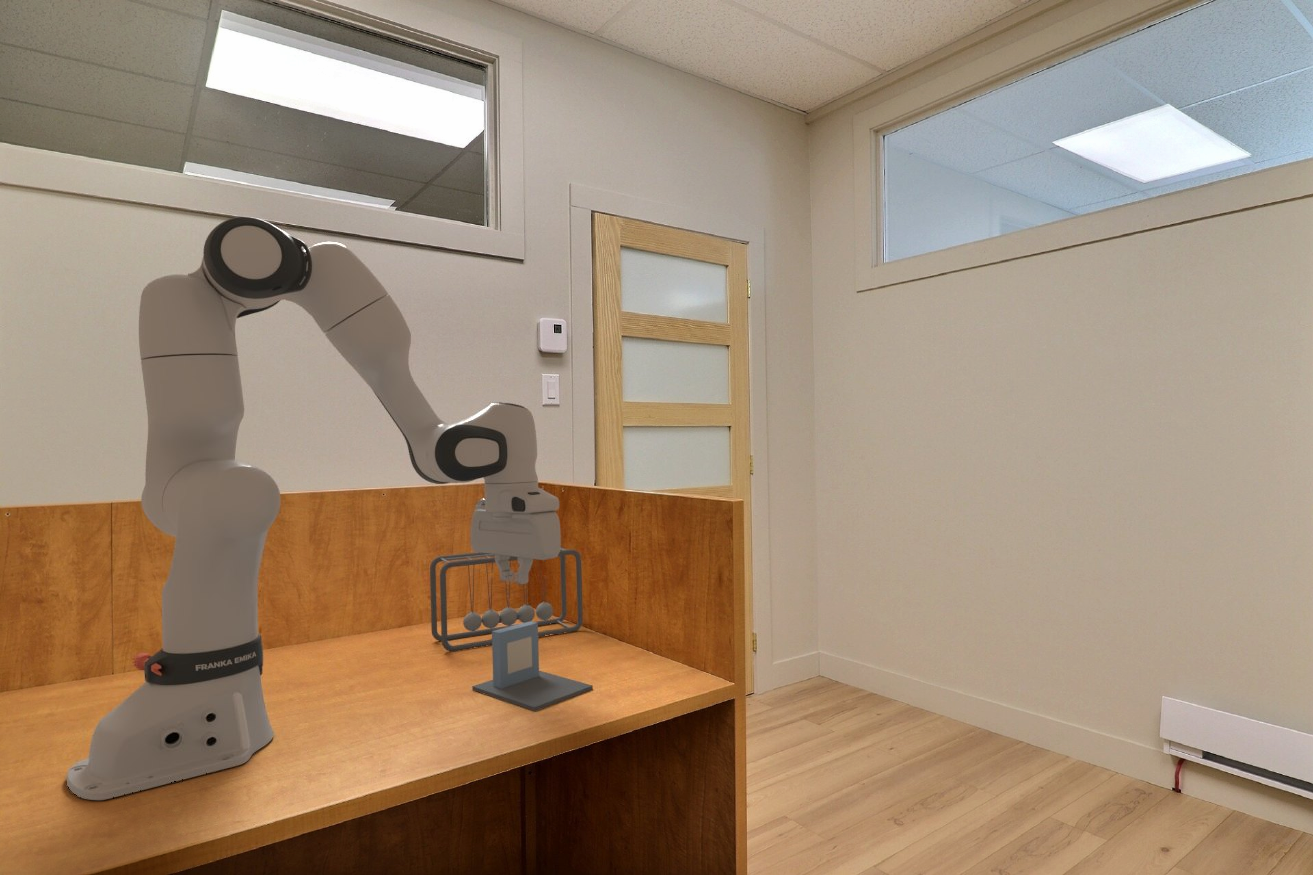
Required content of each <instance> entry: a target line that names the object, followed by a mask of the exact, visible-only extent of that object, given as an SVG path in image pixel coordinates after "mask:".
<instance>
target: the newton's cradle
mask: <svg viewBox="0 0 1313 875" xmlns="http://www.w3.org/2000/svg"><path fill="white" fill-rule="evenodd" d="M569 555H572V556H574V557H575V567H576V568H575V570H576V572H575V574H576V575H575V576H576V603H577V604H576V606H577V608H576V609H577V622H576V624H575V625H574V626H569V625H567V624H566V623H564V622H563V621H564V620H565V618H566V617H567V582H566V580H567V579H566V578H567V577H566V576H567V574H566V572H567V570H566V556H569ZM557 557H559V562H560V564H559V566H560V593H561V596H560V598H561V600H560V601H561V614H560V615H559V617H557V618H556V617H555V618H551V617H552V616H553V615H554V608H553V606H552V605H551V603H548V602H546V579H544V586H543V582H542V574H541V568H540V567H541V566H540V565H538V569H539V577H540V578H539V579H540V586H541V588H540V589H544V591H543V590H541V595H542V602H541V603H539V604H538V605H537V607H536V608H535V609H534V608H533V607H532V606H531V605H529V604H528V603H527V602H528V586H526V591H525V584H522V588H523V591H525V592H526V594H525V592H523V599H524V600H523V601H524V604H523V605H522V606H520V607H518V610H516V609H515V608H513V607H510V605H509V599H510V595H511V594H510V592H511V591H510V590H511V581H509V582H508V583H509V584H508V586H505V592H506V593H505V594H506V597H508V598H506V603H507V604H506V607H505V608H503V609H501V611H500V613H498V612H497V611H496V610H494V609H492V608H491V607H492V603H493V602H492V599H493V596H492V594H493V578H491V579H490V580H491V583H490V584H491V587H490V586H489V584H487V592H488V596H490V597H488V604H489V605H488V607H489V609H488V610H486V611H485V612H484V613H483V614H482V615H480V613H477V612H474V606H473V601H470V609H471V610H470V612H469V613H468V614H466V615H465V616H464V617H463V622H462V624H463V625H462V626H463V627H464V628H465V629H466V630H467V631H465V632H464V631H463V632H458V633H451V634H448V614H447V613H448V609H447V608H448V606H447V605H448V604H447V603H448V602H447V571H448V570H449V569H450V568H456V567H466V566H467V568H468V572H470V566H475V565H485V568H486V570H488V564H491V572H493V570H494V568H493V567H494V566H493V565H494V563H495V564H496V562H495V554H491V553H482V552H468V553H467V552H466V553H457V554H447V555H439V556H437V557H435V558H433V560H432V561H431V562H430V566H429V579H430V580H429V581H430V584H429V585H430V621H431V622H430V624H431V625H430V626H431V635H432V637H433V638H434V639H435V640H436V641H439V642H441V645H442V647H443V649H445V650H446V651H448V652H458V650H460V651H464V650H463V649H466V650H471V649H470V648H472V649H475V648H474V647H478V648H482V647H481V646H484V647H487V646H486V645H490V646H492V639H487V640H480V641H474V642H469V643H461V644H455V645H452V643H450V642H449V641H451V640H452V639H453V640H459V639H464V637H466V638H470V637H469V636H472V637H477V636H476V635H479V636H482V635H481V634H485V635H490V634H489V633H491V634H492V631H495V630H499V629H503V628H506V627H510V626H514V625H518V624H519V623H517V624H515V623H516V622H517V620H519V621H520V622H521V623H526V622H530V621H531V622H533V619H534V618H535V616H536V617H537V618H538V619H539V620H538V621H537V620H536V621H535V622H536V623H538V627H541V626H540V625H543V626H546V625H545V624H550V623H556V624H560V625H562V626H564V627H561V628H556V629H550V630H544V631H538V636H545V635H550V634H558V633H564V632H570V633H573V632H572V631H575V632H577V631H579V630H580V629H581V628H582V626H583V622H584V612H583V611H584V610H583V584H582V583H583V576H582V575H583V574H582V573H583V572H582V557H581V554H580V552H579V551H578V550H576V549H572V548H571V549H566V548H563V547H562V546H561V549H560V552H559V554H558V556H557ZM512 561H513V562H514V561H518V557H515V556H510V559H508V562H509V565H510V569H511V566H512V565H511V562H512ZM537 561H538V562H537V563H538V564H540V560H539V559H537ZM441 562H445V563H444V565H442V567H441V569H440V572H439V590H440V591H439V592H440V594H439V595H440V596H439V597H440V627H441V628H440V629H441V630H440V632H441V634H439V632H438V614H437V613H438V609H437V608H438V606H437V576H436V575H437V573H436V569H437V565H438V564H439V563H441ZM472 571H473V573H472V576H473V577H472V591H471V587H469V596H470V600H472V599H474V589H475V588H474V587H475V567H473V570H472ZM486 579H487V583H489V572H488V571H486ZM468 584H469V586H471V577H470V573H468ZM504 584H505V585H507V582H505V581H504ZM489 587H490V588H489ZM543 587H544V588H543ZM500 622H501V624H503V625H504V626H503V625H502V626H499V627H498V625H499V623H500ZM482 625H483V626H484V627H485V629H480V627H481V626H482ZM550 625H551V624H550ZM576 630H577V631H576ZM564 634H565V633H564ZM558 635H559V634H558ZM545 637H546V636H545Z"/></svg>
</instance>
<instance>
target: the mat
mask: <svg viewBox="0 0 1313 875" xmlns="http://www.w3.org/2000/svg"><path fill="white" fill-rule="evenodd" d="M471 688H472V691H474V690H475V692H477V691H479V692H478V693H479V694H483V693H485V694H484V695H486V694H487V696H489V695H490V696H489V697H492V698H494V697H496V698H495V699H497V698H498V700H500V699H501V701H503V702H506V701H507V703H508V704H509V703H510V704H513V705H516V706H518V707H520V708H521V707H522V708H524V709H526V710H529V711H533V712H536V711H539V710H541V709H544V708H547V707H549V706H552V705H554V704H558V703H560V702H563V701H565V700H568V699H571V698H573V697H576V696H579V695H581V694H584V693H586V692H589V691H592V690H593V688H594V686H593V685H591V684H588V683H586V682H581V681H577V680H574V679H572V678H568V677H564V676H561V675H560V676H559V675H556V674H553V673H551V672H550V673H549V672H546V671H543V670H539V676H537V677H534V678H531V679H528V680H525V681H522V682H519V683H516V684H513V685H510V686H507V687H504V688H501V689H500V688H497V687H494V686H493V679H491V680H487V681H485V682H481V683H479V684H475V685H472V687H471Z"/></svg>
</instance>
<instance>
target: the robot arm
mask: <svg viewBox="0 0 1313 875" xmlns="http://www.w3.org/2000/svg"><path fill="white" fill-rule="evenodd" d="M302 247H303V248H302ZM202 253H203V255H202V256H203V257H202V260H201V264H200V266H199V267H198V268H197V269H196V270H195V271H193V272H190V273H187V274H170V275H164V276H161V277H159V278H158V277H157V278H156V279H154V280H151V281H150V282H149V283H147V285H146V286H145V287H144V288H143V290H142V292H141V295H140V302H139V310H138V312H139V313H138V341H139V342H138V345H139V346H138V347H139V356H140V364H141V365H140V366H141V371H142V379H143V380H142V381H143V388H144V398H145V405H146V410H147V411H146V413H147V441H146V442H147V444H146V451H145V452H146V454H145V474H144V476H145V484H144V488H143V490H142V494H141V497H140V498H141V500H140V502H141V507H142V508H141V509H142V511H143V513H144V515H145V517H146V518H147V519H148V521H150V523H151V524H152V525H153V526H155V527H156V528H157V529H158V530H159V531H161V532H162V533H164V534H166V535H168V536H171V537H174V538H175V541H174V542H175V543H174V548H173V554H172V558H171V559H172V560H171V564H170V569H169V573H168V576H167V579H166V581H165V582H164V584H163V587H162V590H161V624H162V625H161V633H162V637H161V638H162V647H161V649H160V650H158V651H157V652H156V653H154V654H153V655H151V654H149V653H147V652H140V653H138V654H136V655H135V657H133V659H132V664H133V666H134V667H135V669H138V670H140V671H144V674H143V675H144V681H145V682H144V683H142V685H140V686H139V687H138V688H137V689H136V690H135V691H133V692H132V693H130V695H129V696H127V697H126V698H125V699H124V700H122V702H120V703H119V704H117V705H116V706H115V707H114V708H113V709H111V710H110V711H109V712H108V713H107V714H105V715H104V716H103V717H102V718H101V719H100V720H99V721H98V723H97V725H96V727H95V728H94V731H93V734H92V737H91V741H90V745H89V751H88V757H87V758H83V759H82V760H78V761H77V762H75V763H74V764H72V766H70V767H69V769H68V770H67V772H66V779H65V782H66V781H67V785H66V787H67V786H68V787H69V789H70V790H71V791H72V792H73V793H74V794H76V795H77V796H76V795H75V796H76V797H79V798H80V797H81V799H85V800H91V801H104V800H110V799H113V797H114V798H117V797H121V796H125V795H129V794H133V793H137V792H140V790H141V791H144V790H149V789H152V788H156V787H160V786H163V785H168V784H171V782H172V783H175V782H174V781H176V782H179V781H182V779H183V780H187V779H191V778H195V777H199V776H203V775H206V773H207V774H209V773H211V774H212V773H214V772H218V771H222V770H225V769H229V768H233V767H238V766H240V765H243V764H245V763H246V762H248V761H249V760H250V758H251V757H252V755H253V754H254V753H255V752H257V751H258V750H260V749H261V748H263V747H265V746H266V745H268V744H269V743H270V741H272V739H273V738H274V737H275V734H274V730H273V728H272V725H271V723H270V718H269V716H268V712H267V708H266V703H265V699H264V693H263V692H264V691H263V685H262V675H263V667H264V647H263V646H264V645H263V643H262V642H263V641H262V636H261V635H260V634H259V612H258V611H259V608H258V607H259V605H258V604H259V603H258V602H259V601H258V597H259V595H258V594H259V593H258V592H259V591H258V590H259V589H258V586H259V576H260V575H259V574H260V569H261V564H262V559H263V554H264V549H265V545H266V541H267V536H268V532H269V529H270V527H271V526H272V524H273V523H274V522H275V520H276V519H277V517H278V515H279V512H280V509H281V502H282V499H281V492H280V489H279V486H278V484H277V483H276V481H275V480H274V478H272V476H271V475H270V474H269V473H267V472H266V471H265V470H262V469H261V468H259V467H257V466H255V465H253V464H250V463H248V462H246V461H242V460H237V459H236V449H237V440H238V434H239V430H240V429H239V428H240V425H241V423H242V420H243V418H244V415H245V404H244V403H245V402H244V395H243V394H244V393H243V386H242V379H241V369H240V363H239V355H238V347H237V340H236V322H237V319H239V318H242V317H246V316H248V315H249V316H250V315H253V314H257V313H261V312H263V311H266V310H269V309H271V308H273V307H274V306H276V305H277V304H279V303H280V302H281V301H284V300H285V301H288V302H292V303H294V304H296V305H298V306H299V307H301V308H302V309H303V310H305V311H306V313H308V314H309V315H310V316H311V317H312V319H313V320H314V322H315V324H317V326H318V327H319V329H320V330H321V331H322V333H323V334H324V335H325V337H326V338H327V339H328V341H329V342H330V344H332V346H333V347H334V348H335V349H336V350H337V352H338V353H339V354H340V355H341V356H342V357H343V359H345V361H346V362H347V363H348V364H349V365H350V366H351V367H352V369H353V370H354V371H355V372H356V373H357V374H358V376H360V377H361V378H362V379H363V380H364V382H365V383H366V384H367V385H368V386H369V388H370V389H371V390H372V392H373V393H374V394H375V396H376V397H377V399H378V400H379V402H380V403H381V405H382V407H384V409H385V410H386V412H387V413H388V415H389V416H390V418H391V419H392V421H393V423H394V424H395V425H396V427H397V428H398V429H399V431H400V432H401V434H402V436H403V438H404V441H405V442H406V445H407V449H408V455H409V459H410V462H411V465H412V467H413V469H414V471H415V472H416V473H417V474H418V476H420V478H422V479H423V480H424V481H426V482H429V483H431V484H435V485H446V484H451V483H452V484H453V483H454V484H458V483H460V484H461V483H470V482H474V481H475V480H478V479H482V478H483V480H484V498H480V499H479V500H478V501H477V503H476V505H475V506H474V512H473V513H472V517H471V522H470V523H471V524H470V544H469V545H470V547H471V549H472V551H473V552H474V553H476V552H482V553H491V554H495V556H494V557H495V564H496V567H497V569H498V571H499V581H500V582H504V583H505V582H506V583H509V581H510V582H513V581H514V584H519V585H523V584H524V585H527V584H528V583H529V579H530V578H529V572H530V571H531V568H532V565H533V563H534V560H538V559H539V561H541V560H543V561H546V560H550V559H555V558H557V557H559V556H558V554H559V552H560V549H561V547H562V544H561V542H562V539H561V538H562V535H561V522H560V517H559V515H558V513H556V512H555V511H558V510H559V509H560V500H559V498H558V497H557V496H555V495H553V494H551V493H549V492H548V491H546V490H544V489H543V488H541V487H539V479H538V474H537V472H536V471H537V470H536V463H537V459H538V443H537V442H538V440H537V431H536V424H535V423H536V422H535V420H534V417H533V414H532V412H531V411H530V409H528V408H527V407H525V406H522V405H520V404H516V403H511V402H501V401H500V402H492V403H491V402H490V403H488V404H487V405H486V406H485V407H484V408H482V409H481V410H479V411H478V412H476V413H474V414H473V415H470V416H468V417H466V418H463V419H462V420H458V421H455V422H454V423H450V424H449V423H447V422H445V421H443V420H442V419H441V418H439V416H438V415H437V414H436V412H435V411H434V409H433V408H432V406H431V405H430V404H429V401H428V400H427V399H426V397H425V395H424V394H423V393H422V392H421V390H420V388H419V386H418V385H417V383H416V382H415V380H414V379H413V375H412V374H411V371H410V363H409V358H410V357H409V355H410V348H411V344H412V342H411V341H412V335H411V330H410V328H409V326H408V323H407V322H406V319H405V317H404V316H403V313H402V311H401V310H400V308H399V307H398V305H397V304H396V302H395V301H394V300H393V298H392V296H390V294H389V292H388V291H387V290H386V288H385V287H384V286H383V284H382V283H381V282H380V281H379V280H378V278H377V277H376V276H375V275H374V274H373V272H372V271H371V270H370V269H369V268H368V266H366V265H365V263H364V262H363V261H362V260H361V259H360V258H359V257H358V256H357V255H356V254H355V253H354V252H353V251H352V250H350V249H349V248H348V247H347V246H346V245H344V244H342V243H339V242H334V241H325V242H319V243H315V244H313V245H311V246H309V247H308V245H307V244H306V243H305V242H304V241H303V240H302V239H299V238H297V237H295V236H293V235H291V234H290V233H288V232H286V231H284V230H282V229H280V228H279V227H277V226H276V225H274V224H272V223H271V222H269V221H266V220H263V219H261V218H257V217H251V216H236V217H232V218H228V219H226V220H224V221H222V222H220V223H219V224H217V225H216V226H215V227H214V228H213V229H212V230H211V231H210V233H209V234H208V236H207V237H206V240H205V241H204V245H203V252H202ZM510 556H515V557H518V560H517V564H519V565H518V566H519V567H518V570H517V572H515V571H514V570H515V569H511V568H510V561H508V559H510ZM68 787H67V788H68ZM69 789H68V790H69ZM70 790H69V791H70ZM71 791H70V792H71ZM72 792H71V793H72ZM132 792H133V793H132ZM73 793H72V794H73ZM74 794H73V795H74ZM124 794H125V795H124Z"/></svg>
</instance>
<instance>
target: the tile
mask: <svg viewBox="0 0 1313 875" xmlns="http://www.w3.org/2000/svg"><path fill="white" fill-rule="evenodd" d="M517 624H518V625H516V624H513V625H514V626H510V625H509V626H510V627H506V628H503V629H499V630H495V631H492V633H491V640H492V645H491V647H492V649H491V652H492V653H491V654H492V680H493V686H494V687H497V688H500V689H501V688H504V687H507V686H510V685H513V684H516V683H519V682H522V681H525V680H528V679H531V678H534V677H537V676H539V671H540V662H539V661H540V659H539V658H540V654H539V638H538V632H539V626H538V623H536V621H530V622H526V623H523V622H521V623H517Z"/></svg>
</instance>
